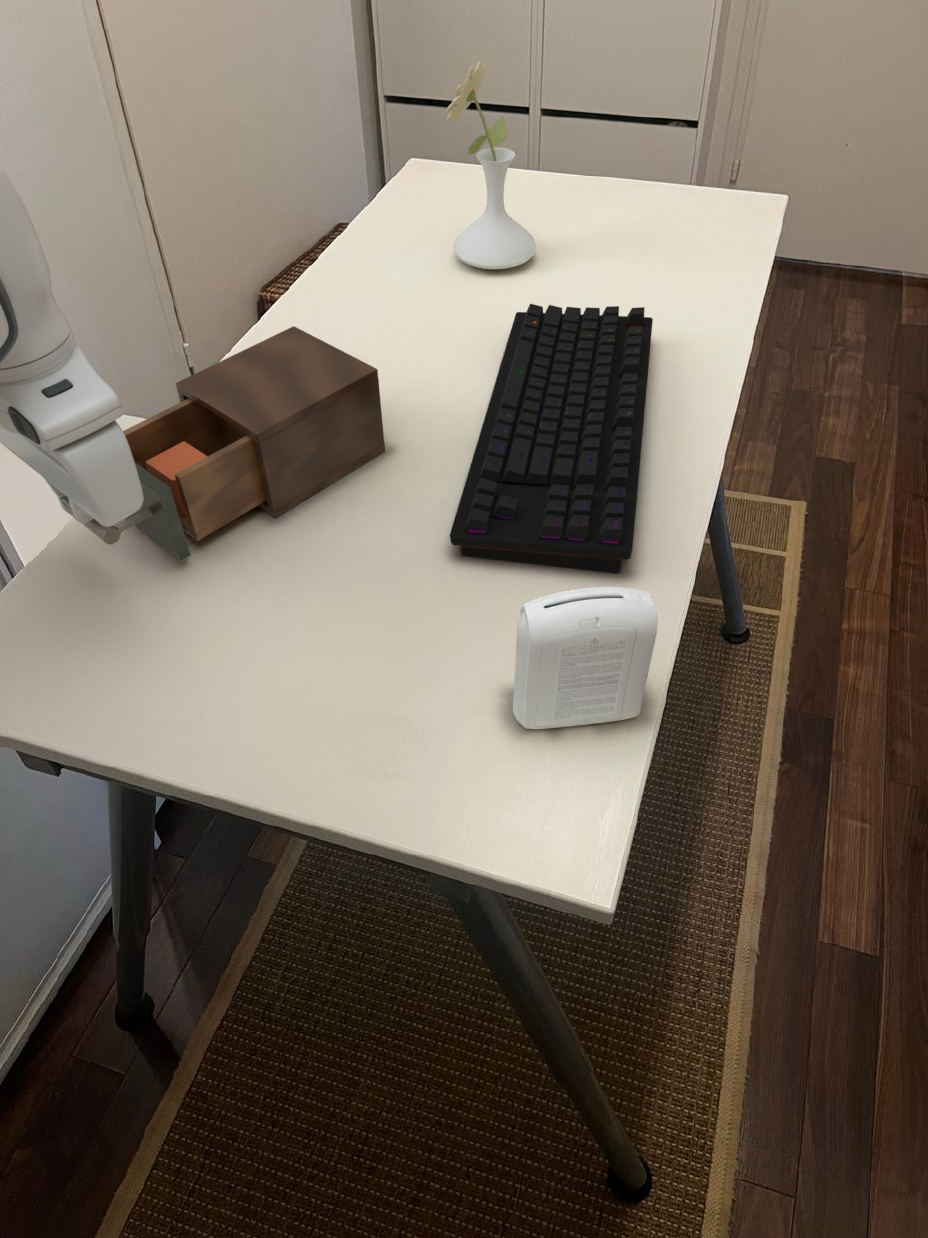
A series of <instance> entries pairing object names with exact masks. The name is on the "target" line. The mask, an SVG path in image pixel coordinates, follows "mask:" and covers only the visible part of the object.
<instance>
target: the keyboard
mask: <svg viewBox="0 0 928 1238" xmlns="http://www.w3.org/2000/svg"><path fill="white" fill-rule="evenodd" d="M645 309H646V307H644V306H642V307H641V306H640V307H631V309H630V311H629V312H628V314H627V316H626V315H620V306H619V305H615V306H606V307H605V309H604V310H603V312H602V314H601V308H600V307H590V306H589V307H585V309H584V311H583V314H582V308H581V307H574V306H566V308H565V311H564V313H563V307H560V306H556V305H553V304H548V306H547V308H546V311H545V312H544V307H543V306H542V305H538V304H535V303H534V304H533V303H529V305H528V307H527V310H526V311H517V312H515V314H514V315H515V316H514V317H513V318H514V319H513V322H512V326H511V328H510V332H509V335H508V339H507V342H506V345H505V348H504V352H503V356H502V359H501V362H500V365H499V369H498V372H497V376H496V378H495V382H494V385H493V388H492V392H491V396H490V399H489V402H488V404H487V405H488V406H487V409H486V412H485V416H484V419H483V422H482V426H481V430H480V432H479V435H478V439H477V443H476V445H475V448H474V452H473V455H472V459H471V461H470V462H471V463H470V466H469V469H468V473H467V475H466V480H465V482H464V486H463V489H462V493H461V496H460V499H459V502H458V506H457V509H456V514H455V516H454V519H453V522H452V526H451V528H450V533H449V539H450V543H451V545H452V546H459V547H460V555H461V556H462V557H468V558H477V559H487V560H495V561H502V562H503V561H504V562H512V563H513V562H514V563H522V564H528V565H529V564H531V565H537V566H538V565H539V566H548V567H556V568H566V569H567V568H568V569H573V570H574V569H575V570H582V571H590V572H591V571H592V572H601V573H610V574H620V573H621V569H622V563H623V560H624V561H628V560H630V559H632V553H633V546H634V536H635V525H636V514H637V501H638V491H639V480H640V479H639V478H640V467H641V457H642V445H643V434H644V422H645V411H646V399H647V388H648V380H649V379H648V377H649V366H650V355H651V345H652V344H651V343H652V333H653V321H654V319H653V317H650V316H645Z"/></svg>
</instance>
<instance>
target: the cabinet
mask: <svg viewBox="0 0 928 1238" xmlns="http://www.w3.org/2000/svg"><path fill="white" fill-rule="evenodd" d="M175 387H176V391H177V394H178V398H179V403H180V402H182V401H184V400H186V399H189V398H190V399H191V400H193V401H194V402H196V403H198V404H199V405H201V406H202V407H204V408H206V409H207V410H209V411H210V412H212V413H214V414H215V415H217V416H218V417H220V418H222V419H223V420H225V421H226V422H228V423H230V424H231V425H233V426H234V427H236V428H238V429H239V430H241V431H242V432H244V433H246V434H247V435H249V436H250V437H252V438H254V443H255V448H256V453H257V457H258V462H259V467H260V471H261V476H262V481H263V485H264V490H265V495H266V499H267V500H266V501H265V502H263V503H261V504H259V505H258V506H257V507H258V508H259V509H261V511H264V512H265V513H267V514H268V515H269V516H271V517H273V518H274V519H277V518H278V517H280V516H282V515H283V514H286V513H287V512H288V511H290V510H291V509H293V508H295V507H296V506H298V505H299V504H302V503H303V502H305V501H307V500H308V499H309V498H311V497H313V496H315V495H316V494H318V493H320V492H321V491H323V490H324V489H326V488H327V487H330V486H331V485H332V484H335V483H336V482H338V481H339V480H341V479H343V478H344V477H345V476H347V475H349V474H351V473H353V472H354V471H355V470H357V469H359V468H361V467H362V466H364V465H365V464H367V463H368V462H371V461H372V460H374V459H375V458H377V457H378V456H380V455H382V454H384V453H385V452H386V448H385V447H386V446H385V434H384V423H383V413H382V403H381V402H382V401H381V391H380V390H381V389H380V380H379V371H378V369H377V368H376V367H375V366H373V365H370V364H368V363H367V362H365V361H362V360H361V359H359V358H357V357H355V356H353V355H351V354H350V353H348V352H345V351H343V350H341V349H339V348H338V347H336V346H334V345H332V344H329V343H327V342H326V341H324V340H322V339H320V338H318V337H316V336H314V335H312V334H310V333H308V332H306V331H304V330H302V329H300V328H298V327H297V326H295V325H292V326H290V327H289V328H287V329H284V330H283V331H281V332H278V333H277V334H275V335H272V336H270V337H268V338H266V339H264V340H262V341H260V342H258V343H255V344H253V345H252V346H250V347H246V348H245V349H243V350H241V351H239V352H237V353H235V354H233V355H231V356H229V357H227V358H224V359H222V360H220V361H218V362H216V363H214V364H212V365H210V366H208V367H206V368H204V369H202V370H200V371H198V372H195V373H193V374H191V375H190V376H188V377H185V378H183V379H181V380H179V381H177V382H175Z"/></svg>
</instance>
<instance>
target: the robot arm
mask: <svg viewBox="0 0 928 1238" xmlns="http://www.w3.org/2000/svg"><path fill="white" fill-rule="evenodd" d="M37 233H38V232H37V231H36V227H35V225H34V223H33V221H32V219H31V216H30V214H29V212H28V209H27V207H26V206H25V203H24V202H23V199H22V197H21V196H20V194H19V192H18V190H17V188H16V186H15V185H14V183H13V182H12V180H11V178H10V177H9V176H8V174H7V173H6V171H5V170H4V169H3V168H2V167H1V166H0V444H1V445H3V447H5V448H6V449H7V450H9V451H10V452H11V453H12V454H14V455H15V456H16V457H17V458H18V459H19V460H21V461H22V462H23V463H25V464H26V465H27V466H29V468H31V469H32V470H33V471H35V472H36V473H37V474H38V475H40V476H41V477H42V478H43V479H44V481H45V482H46V483H47V485H48V486H49V487H50V489H51V490H52V491H53V493H54V495H55V496H56V497H57V500H58V502H59V504H60V506H61V509H62V510H64V511H65V512H66V513H67V514H69V515H70V516H71V517H73V519H75V520H76V521H77V522H78V523H79V524H80V525H83V524H85V523H87V522H89V521H91V520H93V519H95V520H97V521H98V522H99V523H100V524H101V525H103V526H105V527H109V526H112V525H113V526H115V525H117V524H119V523H121V522H122V521H124V520H126V518H127V517H129V516H131V515H132V514H134V513H136V512H137V511H139V510H140V508H141V507H142V504H143V500H144V497H143V491H142V487H141V483H140V479H139V476H138V472H137V469H136V465H135V462H134V459H133V456H132V452H131V449H130V447H129V444H128V441H127V439H126V437H125V435H124V433H123V431H124V430H123V429H122V427H121V426H120V424H119V423H118V422H117V421H116V420H118V419H120V418H121V417H122V416H123V415H124V410H123V406H122V404H121V401H120V399H119V397H118V395H117V393H116V392H115V390H113V389H112V387H111V386H110V385H109V384H108V383H107V382H106V381H105V379H103V377H102V376H101V375H100V374H99V373H98V372H97V370H95V368H93V366H92V365H91V363H90V362H89V360H88V358H87V357H86V355H85V353H84V351H83V349H82V348H81V347H80V346H79V345H78V344H77V342H76V338H75V336H74V332H73V330H72V327H71V324H70V323H69V322H70V321H69V320H68V317H67V315H66V314H65V313H64V311H63V310H62V309H61V307H60V306H59V305H58V303H57V301H56V299H55V296H54V293H53V289H52V273H51V268H50V266H49V263H48V261H47V257H46V255H45V254H46V253H45V252H44V249H43V246H42V244H41V241H40V239H39V236H38V234H37Z"/></svg>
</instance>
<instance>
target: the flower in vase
mask: <svg viewBox="0 0 928 1238" xmlns="http://www.w3.org/2000/svg"><path fill="white" fill-rule="evenodd" d="M486 71H487V64H486V63H485V62H482V59H479V60H478V62H477V64H476V66H474V64H472V65H471V66H470V67H469V70H468V72H467V75H466V77H465V80H464V84H459V85H458V86H457V87H456V89H455V91H454V92H455V95H456V96H457V97H455V98H454V99H453V100H452V101H451V103H450V104H449V105H448V106H447V108H446V113H448V115H447V116H446V121H449V123H454V122H456V121H458V120H459V118H460V117H461V116H462V115H463V114H464V113H465V112H466V110H467V108H469V106H470V105H471V104H472V102H474V104H475V107H476V108H477V111H478V113H479V116H480V119H481V122H482V125H483V128H484V132H485V134H481V135H479V136H478V137H476V138H475V139H474V140H473V141H472V142H471V144H470V146H468V150H467V151H466V156H469V155H474V154H475V156H476V158H477V160H478V162H479V163H480V165H481V167H482V169H483V170H482V171H483V172H484V177H485V184H486V185H485V186H486V205H485V209H484V212H483V214H482V215H481V216H480V217H478V218H477V219H475V221H473V222H472V223H471V224H470V225H468V226H467V227H466V228H464V229H463V230H462V231H461V232H460V234H458V236H456V239H455V241H454V244H453V252H454V253H455V255H456V257H457V258H458V259H459V260H460V261H461V262H462V263H465V264H466V265H469V266H471V267H475V268H479V269H484V270H505V269H510V268H514V267H519V266H521V265H523V264H524V263H525V264H526V263H527V262H528V261H529V260H530V259H531V258H532V257H533V256H534V255H535V254H536V251H537V244H536V241H535V238H534V237H533V236H532V234H531V233H530V232H529V231H528V230H527V229H526V228H525V227H524V226H522V225H521V224H520V223H518V222H517V221H516V220H514V219H513V218H512V217H511V216H510V215H509V214H508V212H507V211H506V208H505V201H504V200H505V197H504V196H505V183H506V177H507V173H508V170H509V167H510V164H511V163H512V161H513V160H514V159H515V157H516V153H515V152H514V151H513V150H512V149H509V148H507V147H499V146H498V145H500V144H503V142H505V141H506V139H507V137H508V132H507V126H506V123H505V119H504V116H501V117H500V118H499V119H498V120H497V121H496V122H494V123H493V124H492V125H491V126H490V127H489V128H488V126H487V122H486V118H485V116H484V114H483V111H482V109H481V106H480V104H479V101H478V99H477V93H478V91H479V89H480V88H481V84H482V82H483V79H484V76H485V74H486ZM486 140H487V142H488V145H489V147H486V148H482V146H483V145H484V143H485V142H486ZM497 146H498V147H497Z"/></svg>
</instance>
